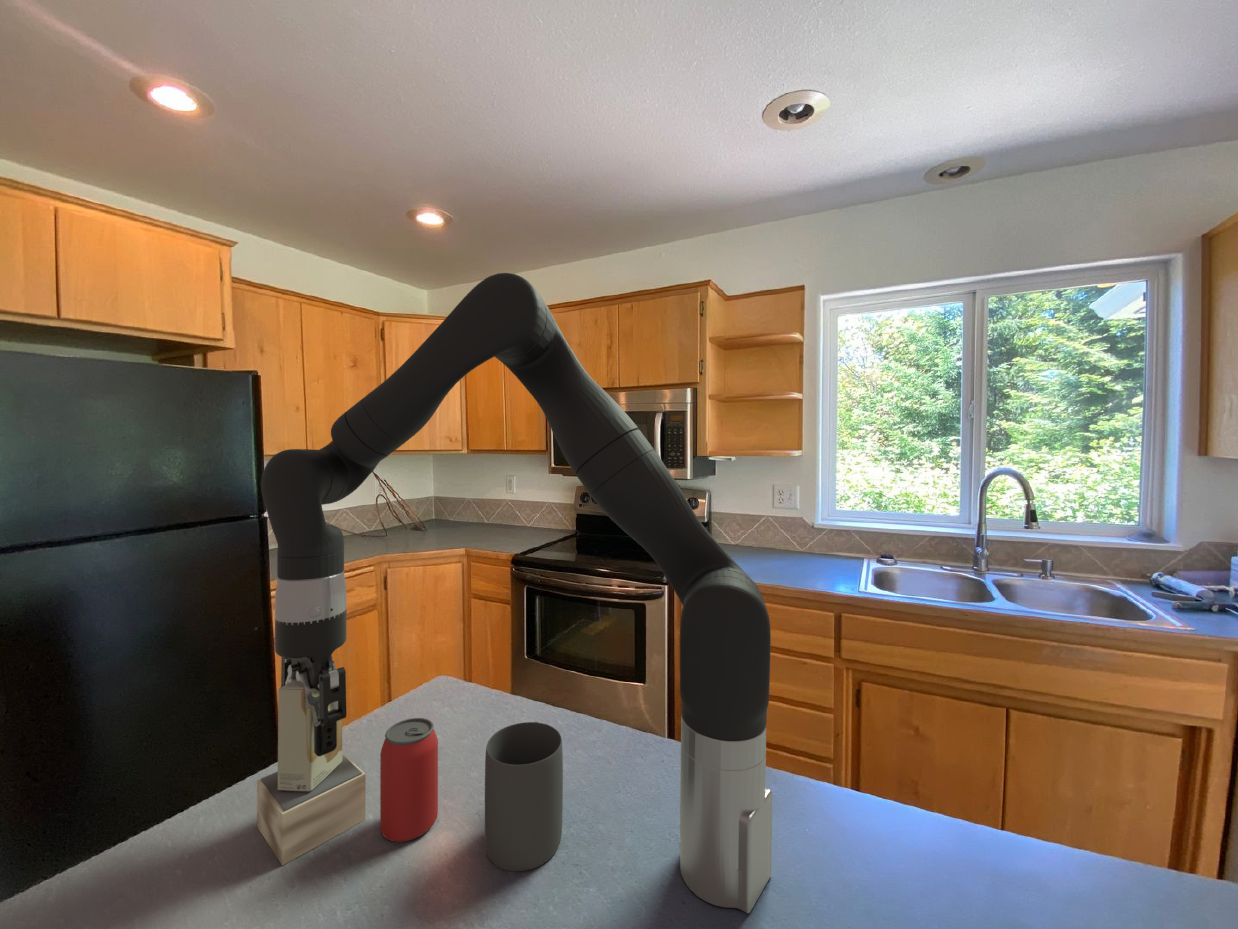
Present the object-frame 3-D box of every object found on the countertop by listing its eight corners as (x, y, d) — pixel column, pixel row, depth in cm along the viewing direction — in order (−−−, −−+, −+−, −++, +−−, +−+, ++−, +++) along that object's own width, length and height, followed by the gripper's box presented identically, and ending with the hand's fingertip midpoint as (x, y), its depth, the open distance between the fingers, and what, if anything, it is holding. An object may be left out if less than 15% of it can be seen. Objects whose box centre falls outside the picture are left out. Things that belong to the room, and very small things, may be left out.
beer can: (417, 850, 57) (417, 748, 57) (367, 840, 58) (367, 741, 58) (448, 810, 63) (448, 718, 63) (403, 802, 64) (403, 712, 64)
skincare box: (310, 793, 57) (310, 691, 57) (275, 792, 58) (275, 689, 57) (345, 760, 64) (344, 667, 64) (313, 758, 64) (312, 666, 64)
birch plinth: (365, 819, 61) (365, 772, 61) (282, 865, 54) (282, 812, 54) (335, 788, 67) (335, 745, 67) (257, 827, 60) (257, 779, 60)
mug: (556, 874, 54) (557, 767, 53) (474, 873, 54) (474, 765, 53) (570, 790, 67) (570, 704, 67) (504, 789, 67) (504, 703, 67)
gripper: (369, 614, 59) (369, 747, 59) (322, 593, 68) (322, 708, 68) (298, 631, 53) (298, 779, 53) (257, 605, 62) (257, 732, 62)
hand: (311, 739), depth 61 cm, fingers open, 8 cm apart
